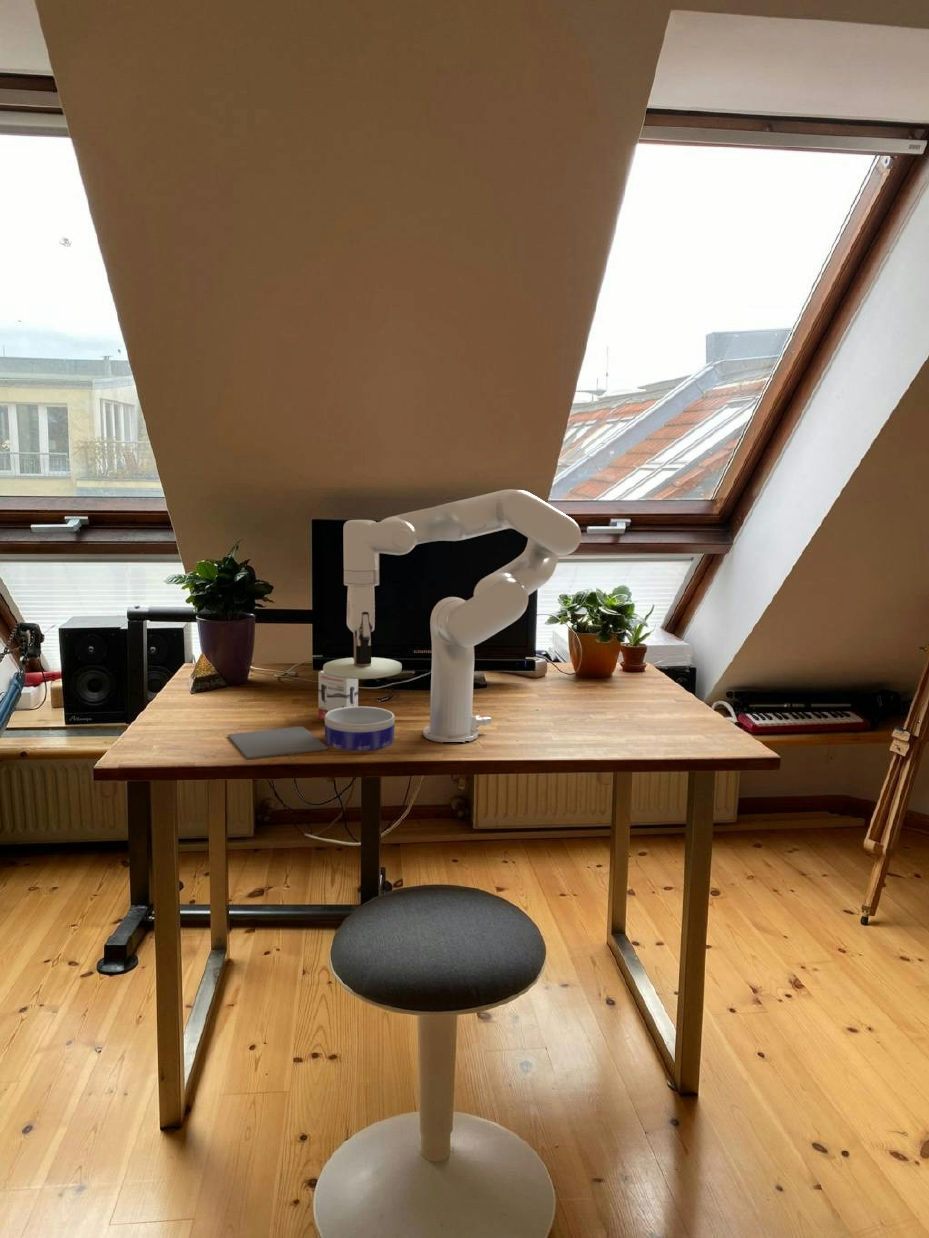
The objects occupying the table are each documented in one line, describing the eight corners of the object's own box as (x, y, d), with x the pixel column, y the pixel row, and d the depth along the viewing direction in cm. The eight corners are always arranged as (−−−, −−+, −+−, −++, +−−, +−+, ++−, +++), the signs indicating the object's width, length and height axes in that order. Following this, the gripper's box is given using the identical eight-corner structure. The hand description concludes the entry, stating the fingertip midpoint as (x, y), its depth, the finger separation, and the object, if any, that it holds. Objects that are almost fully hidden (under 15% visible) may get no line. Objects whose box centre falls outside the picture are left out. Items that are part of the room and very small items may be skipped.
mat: (302, 728, 198) (302, 726, 198) (327, 749, 184) (327, 747, 184) (227, 736, 190) (227, 734, 190) (247, 759, 176) (247, 757, 176)
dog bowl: (321, 732, 196) (321, 706, 195) (388, 729, 200) (388, 704, 199) (327, 753, 182) (328, 725, 181) (399, 750, 186) (400, 723, 185)
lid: (382, 658, 200) (382, 629, 199) (414, 673, 185) (414, 641, 184) (312, 666, 191) (311, 635, 190) (340, 682, 177) (339, 648, 176)
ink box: (317, 718, 207) (317, 670, 205) (330, 714, 211) (330, 667, 209) (346, 724, 202) (346, 675, 201) (358, 720, 207) (359, 671, 205)
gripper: (339, 573, 192) (340, 654, 195) (349, 583, 176) (350, 670, 179) (372, 573, 194) (373, 653, 197) (385, 582, 178) (385, 669, 181)
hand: (362, 660), depth 188 cm, fingers closed on lid, 3 cm apart
